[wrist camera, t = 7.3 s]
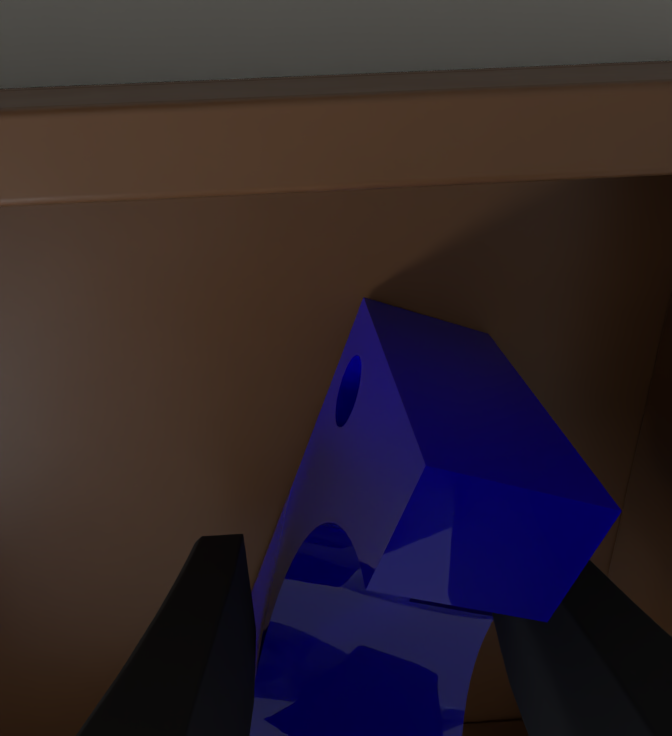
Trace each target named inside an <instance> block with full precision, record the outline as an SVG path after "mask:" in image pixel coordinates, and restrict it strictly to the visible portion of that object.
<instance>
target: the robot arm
mask: <svg viewBox="0 0 672 736" xmlns="http://www.w3.org/2000/svg"><path fill="white" fill-rule="evenodd" d="M492 615H493V620H494V624H495V628H496V632H497V636H498V640H499V644H500V648H501V653H502V656H503V660H504V664H505V668H506V672H507V675H508V679H509V683H510V686H511V689H512V691H513V694H514V697H515V700H516V703H517V705H518V708H519V711H520V713H521V716H522V719H523V722H524V724H525V727H526V730H527V732H528V735H529V736H672V637H671V636H670V635H669V634H668V633H667V632H666V631H665V630H664V629H662V628H661V627H660V626H659V625H658V624H657V623H656V622H655V621H654V620H653V619H652V618H651V617H649V616H648V615H647V614H646V613H645V612H644V611H643V610H642V609H641V608H640V607H639V606H637V605H636V604H635V603H634V602H633V601H632V600H631V599H630V598H629V597H628V596H627V595H626V594H625V593H624V592H623V591H622V590H621V589H619V588H618V587H617V586H616V585H615V584H614V583H613V582H612V581H611V580H610V579H609V578H608V577H607V576H606V575H605V574H604V573H603V572H602V571H601V570H600V569H599V568H598V567H597V566H596V565H595V564H594V563H593V562H592V561H591V560H589V561H588V563H587V564H586V566H585V567H584V569H583V570H582V572H581V573H580V575H579V576H578V578H577V579H576V581H575V582H574V584H573V585H572V587H571V588H570V590H569V591H568V593H567V594H566V596H565V597H564V598H563V600H562V601H561V603H560V604H559V606H558V607H557V609H556V610H555V612H554V613H553V615H552V616H551V618H550V619H549V621H548V622H542V621H537V620H531V619H525V618H520V617H514V616H509V615H503V614H497V613H492ZM255 659H256V624H255V617H254V610H253V602H252V595H251V588H250V580H249V573H248V565H247V558H246V551H245V543H244V536H243V534H228V535H213V536H201V537H200V538H199V539H198V540H197V541H196V542H195V544H194V546H193V548H192V550H191V552H190V554H189V556H188V558H187V560H186V562H185V563H184V565H183V567H182V569H181V571H180V573H179V575H178V577H177V578H176V580H175V582H174V584H173V586H172V587H171V589H170V591H169V593H168V594H167V596H166V598H165V600H164V601H163V603H162V605H161V607H160V608H159V610H158V612H157V613H156V615H155V617H154V618H153V620H152V622H151V623H150V625H149V626H148V628H147V630H146V631H145V633H144V634H143V636H142V638H141V639H140V641H139V642H138V644H137V646H136V647H135V649H134V651H133V652H132V654H131V655H130V657H129V659H128V660H127V662H126V663H125V665H124V666H123V668H122V669H121V671H120V672H119V674H118V675H117V677H116V678H115V680H114V681H113V683H112V684H111V686H110V687H109V688H108V690H107V691H106V693H105V694H104V696H103V697H102V699H101V700H100V701H99V703H98V704H97V706H96V707H95V709H94V710H93V711H92V713H91V714H90V716H89V717H88V719H87V720H86V722H85V723H84V724H83V726H82V727H81V729H80V730H79V732H78V733H77V734H76V736H249V735H250V728H251V720H252V712H253V705H254V687H255Z"/></svg>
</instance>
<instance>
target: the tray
mask: <svg viewBox="0 0 672 736" xmlns="http://www.w3.org/2000/svg"><path fill="white" fill-rule="evenodd" d="M363 297H365V298H368V299H371V300H375V301H378V302H382V303H385V304H389V305H392V306H395V307H399V308H402V309H406V310H409V311H413V312H416V313H419V314H423V315H426V316H430V317H433V318H436V319H440V320H443V321H447V322H450V323H454V324H457V325H460V326H464V327H467V328H471V329H474V330H478V331H481V332H484V333H488V334H489V335H490V336H491V338H492V339H493V340H494V342H495V343H496V344H497V346H498V347H499V348H500V350H501V351H502V352H503V354H504V355H505V356H506V358H507V359H508V360H509V362H510V363H511V364H512V366H513V367H514V368H515V369H516V371H517V372H518V373H519V375H520V376H521V377H522V379H523V380H524V381H525V383H526V384H527V385H528V387H529V388H530V389H531V391H532V392H533V393H534V395H535V396H536V397H537V399H538V400H539V401H540V403H541V404H542V405H543V407H544V408H545V409H546V411H547V412H548V413H549V415H550V416H551V417H552V419H553V420H554V421H555V423H556V424H557V425H558V427H559V428H560V429H561V431H562V432H563V433H564V435H565V436H566V437H567V439H568V440H569V441H570V443H571V444H572V445H573V447H574V448H575V449H576V451H577V452H578V453H579V455H580V456H581V457H582V459H583V460H584V461H585V463H586V464H587V465H588V467H589V468H590V469H591V470H592V472H593V473H594V474H595V476H596V477H597V478H598V480H599V481H600V482H601V484H602V485H603V486H604V488H605V489H606V490H607V492H608V493H609V494H610V496H611V497H612V498H613V500H614V501H615V502H616V504H617V505H618V506H619V508H620V509H621V510H622V512H621V513H620V515H619V516H618V518H617V519H616V521H615V522H614V524H613V525H612V527H611V528H610V530H609V531H608V533H607V534H606V536H605V537H604V539H603V540H602V542H601V543H600V545H599V546H598V548H597V549H596V551H595V552H594V554H593V555H592V557H591V558H590V560H591V561H592V562H593V563H594V564H595V565H596V566H597V567H598V568H599V569H600V570H601V571H602V572H603V573H604V574H605V575H606V576H607V577H608V578H609V579H610V580H611V581H612V582H613V583H614V584H615V585H616V586H617V587H618V588H619V589H621V590H622V591H623V592H624V593H625V594H626V595H627V596H628V597H629V598H630V599H631V600H632V601H633V602H634V603H635V604H636V605H637V606H639V607H640V608H641V609H642V610H643V611H644V612H645V613H646V614H647V615H648V616H649V617H651V618H652V619H653V620H654V621H655V622H656V623H657V624H658V625H659V626H660V627H661V628H662V629H664V630H665V631H666V632H667V633H668V634H669V635H670V636H671V637H672V61H649V62H625V63H601V64H578V65H554V66H530V67H506V68H483V69H459V70H435V71H411V72H388V73H364V74H340V75H317V76H293V77H269V78H245V79H222V80H198V81H174V82H150V83H127V84H103V85H79V86H55V87H32V88H8V89H0V736H76V734H77V733H78V732H79V730H80V729H81V727H82V726H83V724H84V723H85V722H86V720H87V719H88V717H89V716H90V714H91V713H92V711H93V710H94V709H95V707H96V706H97V704H98V703H99V701H100V700H101V699H102V697H103V696H104V694H105V693H106V691H107V690H108V688H109V687H110V686H111V684H112V683H113V681H114V680H115V678H116V677H117V675H118V674H119V672H120V671H121V669H122V668H123V666H124V665H125V663H126V662H127V660H128V659H129V657H130V655H131V654H132V652H133V651H134V649H135V647H136V646H137V644H138V642H139V641H140V639H141V638H142V636H143V634H144V633H145V631H146V630H147V628H148V626H149V625H150V623H151V622H152V620H153V618H154V617H155V615H156V613H157V612H158V610H159V608H160V607H161V605H162V603H163V601H164V600H165V598H166V596H167V594H168V593H169V591H170V589H171V587H172V586H173V584H174V582H175V580H176V578H177V577H178V575H179V573H180V571H181V569H182V567H183V565H184V563H185V562H186V560H187V558H188V556H189V554H190V552H191V550H192V548H193V546H194V544H195V542H196V541H197V540H198V539H199V538H200V537H201V536H213V535H228V534H243V536H244V543H245V551H246V558H247V565H248V573H249V580H250V588H251V593H252V590H253V587H254V585H255V582H256V579H257V577H258V574H259V572H260V569H261V566H262V564H263V561H264V558H265V556H266V553H267V550H268V548H269V545H270V542H271V540H272V537H273V535H274V532H275V529H276V527H277V524H278V521H279V519H280V516H281V513H282V511H283V508H284V506H285V503H286V500H287V498H288V495H289V492H290V490H291V487H292V484H293V482H294V479H295V476H296V474H297V471H298V469H299V466H300V463H301V461H302V458H303V455H304V453H305V450H306V447H307V445H308V442H309V440H310V437H311V434H312V432H313V429H314V426H315V424H316V421H317V418H318V416H319V413H320V410H321V408H322V405H323V403H324V400H325V397H326V395H327V392H328V389H329V387H330V384H331V381H332V379H333V376H334V373H335V371H336V368H337V366H338V363H339V360H340V358H341V355H342V352H343V350H344V347H345V344H346V342H347V339H348V337H349V334H350V331H351V329H352V326H353V323H354V321H355V318H356V315H357V313H358V310H359V307H360V305H361V302H362V300H363ZM462 736H529V735H528V732H527V730H526V727H525V724H524V722H523V719H522V716H521V713H520V711H519V708H518V705H517V703H516V700H515V697H514V694H513V691H512V689H511V686H510V683H509V679H508V675H507V672H506V668H505V664H504V660H503V656H502V653H501V648H500V644H499V640H498V636H497V632H496V628H495V624H494V620H493V621H492V623H491V625H490V627H489V629H488V631H487V633H486V635H485V637H484V640H483V642H482V645H481V647H480V649H479V652H478V655H477V658H476V661H475V665H474V668H473V672H472V676H471V680H470V684H469V689H468V694H467V700H466V706H465V713H464V722H463V733H462Z"/></svg>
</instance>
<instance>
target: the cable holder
mask: <svg viewBox="0 0 672 736" xmlns="http://www.w3.org/2000/svg"><path fill="white" fill-rule="evenodd" d="M621 512H622V510H621V509H620V508H619V506H618V505H617V504H616V502H615V501H614V500H613V498H612V497H611V496H610V494H609V493H608V492H607V490H606V489H605V488H604V486H603V485H602V484H601V482H600V481H599V480H598V478H597V477H596V476H595V474H594V473H593V472H592V470H591V469H590V468H589V467H588V465H587V464H586V463H585V461H584V460H583V459H582V457H581V456H580V455H579V453H578V452H577V451H576V449H575V448H574V447H573V445H572V444H571V443H570V441H569V440H568V439H567V437H566V436H565V435H564V433H563V432H562V431H561V429H560V428H559V427H558V425H557V424H556V423H555V421H554V420H553V419H552V417H551V416H550V415H549V413H548V412H547V411H546V409H545V408H544V407H543V405H542V404H541V403H540V401H539V400H538V399H537V397H536V396H535V395H534V393H533V392H532V391H531V389H530V388H529V387H528V385H527V384H526V383H525V381H524V380H523V379H522V377H521V376H520V375H519V373H518V372H517V371H516V369H515V368H514V367H513V366H512V364H511V363H510V362H509V360H508V359H507V358H506V356H505V355H504V354H503V352H502V351H501V350H500V348H499V347H498V346H497V344H496V343H495V342H494V340H493V339H492V338H491V336H490V335H489V334H488V333H484V332H481V331H478V330H474V329H471V328H467V327H464V326H460V325H457V324H454V323H450V322H447V321H443V320H440V319H436V318H433V317H430V316H426V315H423V314H419V313H416V312H413V311H409V310H406V309H402V308H399V307H395V306H392V305H389V304H385V303H382V302H378V301H375V300H371V299H368V298H365V297H363V300H362V302H361V305H360V307H359V310H358V313H357V315H356V318H355V321H354V323H353V326H352V329H351V331H350V334H349V337H348V339H347V342H346V344H345V347H344V350H343V352H342V355H341V358H340V360H339V363H338V366H337V368H336V371H335V373H334V376H333V379H332V381H331V384H330V387H329V389H328V392H327V395H326V397H325V400H324V403H323V405H322V408H321V410H320V413H319V416H318V418H317V421H316V424H315V426H314V429H313V432H312V434H311V437H310V440H309V442H308V445H307V447H306V450H305V453H304V455H303V458H302V461H301V463H300V466H299V469H298V471H297V474H296V476H295V479H294V482H293V484H292V487H291V490H290V492H289V495H288V498H287V500H286V503H285V506H284V508H283V511H282V513H281V516H280V519H279V521H278V524H277V527H276V529H275V532H274V535H273V537H272V540H271V542H270V545H269V548H268V550H267V553H266V556H265V558H264V561H263V564H262V566H261V569H260V572H259V574H258V577H257V579H256V582H255V585H254V587H253V590H252V593H251V595H252V602H253V610H254V617H255V624H256V659H255V687H254V705H253V712H252V720H251V728H250V735H249V736H462V733H463V722H464V713H465V706H466V700H467V694H468V689H469V684H470V680H471V676H472V672H473V668H474V665H475V661H476V658H477V655H478V652H479V649H480V647H481V645H482V642H483V640H484V637H485V635H486V633H487V631H488V629H489V627H490V625H491V623H492V621H493V615H492V613H497V614H503V615H509V616H514V617H520V618H525V619H531V620H537V621H542V622H548V621H549V619H550V618H551V616H552V615H553V613H554V612H555V610H556V609H557V607H558V606H559V604H560V603H561V601H562V600H563V598H564V597H565V596H566V594H567V593H568V591H569V590H570V588H571V587H572V585H573V584H574V582H575V581H576V579H577V578H578V576H579V575H580V573H581V572H582V570H583V569H584V567H585V566H586V564H587V563H588V561H589V560H590V558H591V557H592V555H593V554H594V552H595V551H596V549H597V548H598V546H599V545H600V543H601V542H602V540H603V539H604V537H605V536H606V534H607V533H608V531H609V530H610V528H611V527H612V525H613V524H614V522H615V521H616V519H617V518H618V516H619V515H620V513H621Z"/></svg>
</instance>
